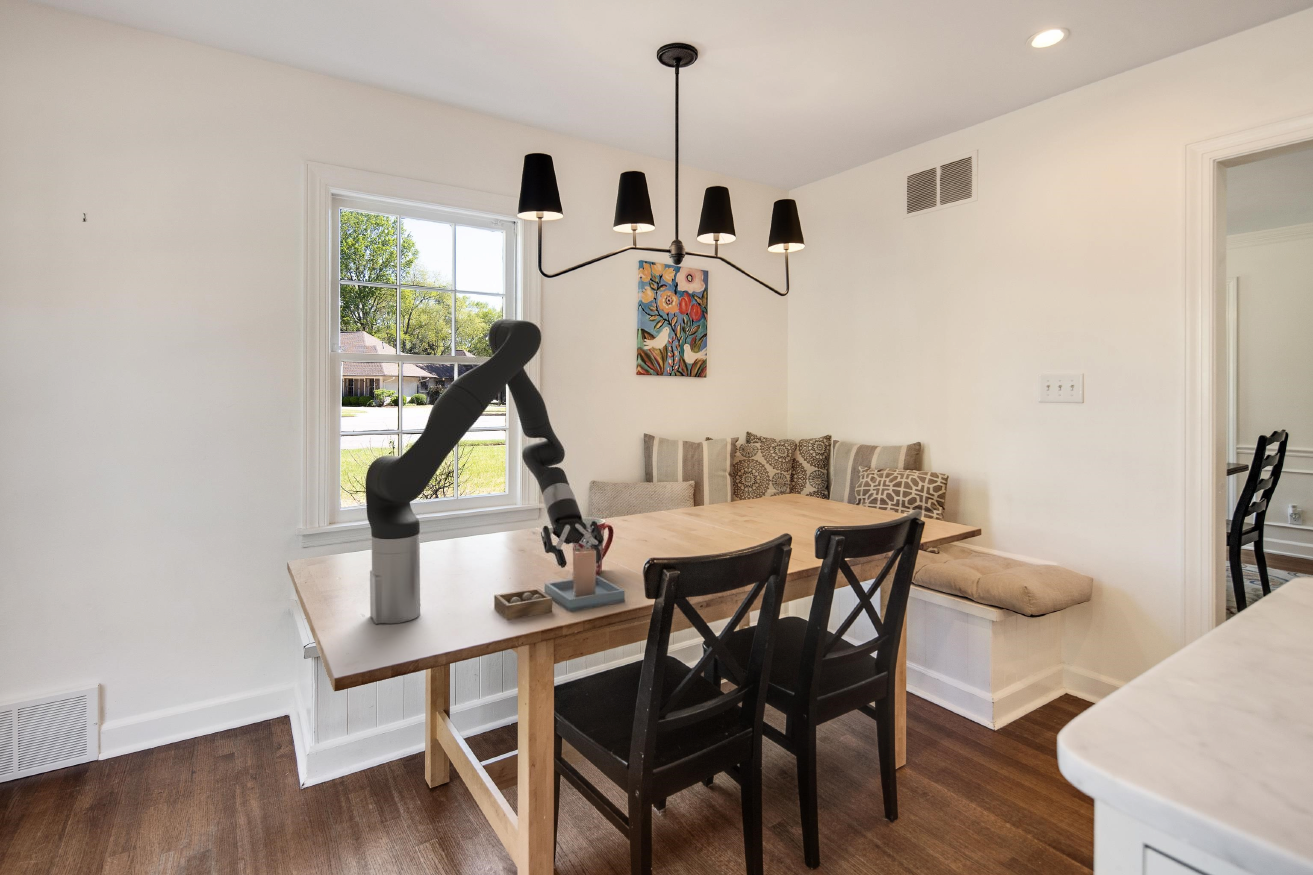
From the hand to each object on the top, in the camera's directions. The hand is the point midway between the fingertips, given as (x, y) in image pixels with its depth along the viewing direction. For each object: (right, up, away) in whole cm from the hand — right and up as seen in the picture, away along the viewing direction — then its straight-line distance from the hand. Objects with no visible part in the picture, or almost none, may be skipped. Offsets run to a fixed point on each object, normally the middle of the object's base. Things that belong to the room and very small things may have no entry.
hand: (581, 563), depth 150 cm
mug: (+1, -6, +22) cm, 23 cm away
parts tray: (-11, -8, -10) cm, 17 cm away
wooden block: (+1, -7, -1) cm, 7 cm away
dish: (+1, -8, -1) cm, 8 cm away
